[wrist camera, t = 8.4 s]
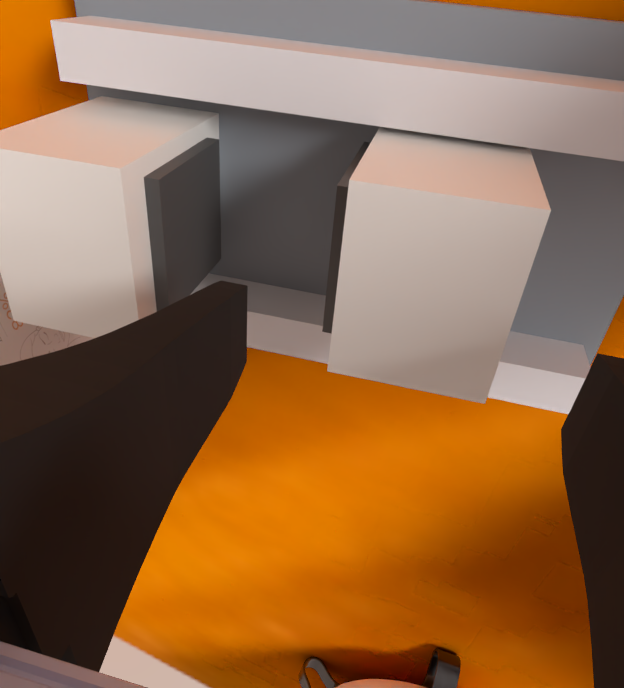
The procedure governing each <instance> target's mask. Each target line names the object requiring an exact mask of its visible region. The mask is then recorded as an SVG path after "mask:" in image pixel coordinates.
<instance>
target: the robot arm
mask: <svg viewBox="0 0 624 688" xmlns="http://www.w3.org/2000/svg"><path fill="white" fill-rule="evenodd" d="M247 291H248V286H247V285H242V284H237V283H232V282H226V281H218V282H216V283H213V284H211V285H209V286H207V287H205V288H203V289H201V290H199V291H197V292H195V293H193V294H191V295H189V296H187V297H185V298H183V299H181V300H179V301H177V302H175V303H173V304H171V305H169V306H167V307H165V308H163V309H161V310H159V311H157V312H155V313H153V314H151V315H149V316H146V317H144V318H142V319H139V320H137V321H135V322H133V323H130V324H128V325H126V326H124V327H121V328H119V329H117V330H114V331H112V332H110V333H107V334H105V335H102V336H99V337H97V338H94V339H91V340H89V341H86V342H83V343H80V344H77V345H74V346H71V347H68V348H65V349H62V350H58V351H55V352H52V353H48V354H44V355H40V356H36V357H33V358H29V359H25V360H21V361H17V362H13V363H10V364H6V365H1V366H0V688H146V687H143V686H140V685H137V684H134V683H130V682H128V681H124V680H121V679H118V678H115V677H112V676H109V675H105V674H102V673H99V670H100V668H101V665H102V663H103V660H104V657H105V655H106V652H107V650H108V647H109V645H110V642H111V639H112V637H113V634H114V632H115V629H116V626H117V624H118V621H119V619H120V617H121V614H122V612H123V609H124V607H125V604H126V602H127V600H128V597H129V595H130V592H131V590H132V587H133V585H134V583H135V580H136V578H137V575H138V573H139V571H140V568H141V566H142V564H143V562H144V559H145V557H146V555H147V553H148V550H149V548H150V546H151V543H152V541H153V539H154V537H155V534H156V532H157V530H158V528H159V526H160V523H161V521H162V519H163V517H164V515H165V513H166V511H167V509H168V506H169V504H170V502H171V500H172V498H173V496H174V494H175V491H176V490H177V488H178V486H179V484H180V482H181V481H182V479H183V477H184V475H185V473H186V472H187V470H188V468H189V467H190V465H191V463H192V462H193V460H194V459H195V457H196V455H197V454H198V452H199V450H200V449H201V447H202V445H203V444H204V442H205V441H206V439H207V437H208V436H209V434H210V432H211V431H212V429H213V427H214V426H215V424H216V422H217V421H218V419H219V417H220V416H221V414H222V412H223V411H224V409H225V407H226V406H227V404H228V402H229V401H230V399H231V397H232V395H233V392H234V390H235V388H236V386H237V383H238V381H239V379H240V376H241V374H242V371H243V369H244V366H245V364H246V361H247ZM561 437H562V461H563V475H564V480H565V485H566V490H567V496H568V501H569V506H570V511H571V516H572V520H573V525H574V530H575V535H576V540H577V544H578V549H579V554H580V559H581V564H582V569H583V573H584V580H585V586H586V592H587V599H588V610H589V621H590V633H591V644H592V658H593V674H594V688H624V359H623V358H618V357H613V356H608V355H602V354H597V356H596V358H595V360H594V362H593V364H592V366H591V368H590V370H589V372H588V374H587V377H586V379H585V381H584V383H583V385H582V387H581V389H580V391H579V393H578V395H577V398H576V400H575V402H574V404H573V406H572V408H571V410H570V412H569V414H568V416H567V418H566V421H565V423H564V425H563V427H562V429H561Z"/></svg>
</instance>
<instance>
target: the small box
mask: <svg viewBox="0 0 624 688" xmlns="http://www.w3.org/2000/svg"><path fill="white" fill-rule="evenodd" d="M91 339H94V338H92V337H87V336H83V335H78V334H73V333H69V332H64V331H59V330H55V329H50V328H46V327H41V326H36V325H32V324H27V323H22V322H18V321H14V320H13V316H12V313H11V309H10V306H9V302H8V299H7V295H6V291H5V288H4V284H3V281H2V277H1V273H0V366H1V365H6V364H10V363H13V362H17V361H21V360H25V359H29V358H33V357H36V356H40V355H44V354H48V353H52V352H55V351H58V350H62V349H65V348H68V347H71V346H74V345H77V344H80V343H83V342H86V341H89V340H91Z"/></svg>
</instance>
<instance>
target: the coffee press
mask: <svg viewBox="0 0 624 688" xmlns="http://www.w3.org/2000/svg"><path fill="white" fill-rule="evenodd" d="M307 667H311V668H314V669H315V670H316V671H317V672H318V674H319V676H320V678H321V679H322V681H323V683H324V684H325V686H326V687H327V688H456V687H457V682H458V678H459V673H460V658H459V656H457V655H454V654H451V653H448V652H446V651H443V650H440V649H437V648H436V649H435V650H434V651H433V654H432V657H431V660H430V663H429V667H428V670H427V674H426V677H425V679H424V681H423V683H422V684H421V685H416V684H412V683H407V682H402V681H396V680H387V679H363V680H356V681H351V682H347V683H344V684H341V685H340V684H339V683H337V682H336V681H335V680H334V679H333V678H332V676H331V675H330V673H329V672H328V670H327V668H326V666H325V665H324V663H323V662H322V661H321V660H320V659H319V658H317V657H310V658H308V659H307V660H306V661H305V662H304V664H303V666H302V668H301V670H300V672H299V681H300V684H301V687H302V688H311V686H310V683H309V681H308V678H307V675H306V672H305V668H307Z"/></svg>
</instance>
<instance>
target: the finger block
mask: <svg viewBox="0 0 624 688" xmlns="http://www.w3.org/2000/svg"><path fill="white" fill-rule="evenodd" d="M550 212H551V209H550V206H549V203H548V200H547V197H546V194H545V191H544V189H543V186H542V183H541V180H540V177H539V174H538V171H537V168H536V165H535V162H534V159H533V157H532V154H531V151H530V148H527V147H520V146H513V145H506V144H499V143H492V142H485V141H478V140H471V139H464V138H457V137H450V136H443V135H436V134H429V133H422V132H415V131H408V130H401V129H394V128H387V127H380V128H379V129H378V131H377V133H376V134H375V136H374V138H373V140H372V141H371V142H364V143H363V145H362V146H361V148H360V150H359V151H358V153H357V154H356V156H355V158H354V159H353V161H352V162H351V164H350V166H349V167H348V169H347V171H346V172H345V174H344V175H343V177H342V179H341V180H340V182H339V183H338V185H337V192H336V202H335V212H334V222H333V231H332V241H331V251H330V261H329V270H328V280H327V290H326V300H325V309H324V319H323V329H322V332H326V333H331V343H330V352H329V360H328V369H327V371H328V372H333V373H338V374H343V375H348V376H353V377H357V378H362V379H367V380H372V381H377V382H382V383H387V384H391V385H396V386H401V387H406V388H411V389H416V390H421V391H425V392H430V393H435V394H440V395H445V396H450V397H455V398H459V399H464V400H469V401H474V402H479V403H484V404H485V402H486V399H487V396H488V394H489V391H490V388H491V385H492V382H493V379H494V376H495V373H496V370H497V367H498V364H499V361H500V358H501V355H502V352H503V350H504V347H505V344H506V341H507V338H508V335H509V332H510V329H511V326H512V323H513V320H514V317H515V314H516V311H517V309H518V306H519V303H520V300H521V297H522V294H523V291H524V288H525V285H526V282H527V279H528V276H529V273H530V270H531V267H532V265H533V262H534V259H535V256H536V253H537V250H538V247H539V244H540V241H541V238H542V235H543V232H544V229H545V226H546V224H547V221H548V218H549V215H550Z"/></svg>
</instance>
